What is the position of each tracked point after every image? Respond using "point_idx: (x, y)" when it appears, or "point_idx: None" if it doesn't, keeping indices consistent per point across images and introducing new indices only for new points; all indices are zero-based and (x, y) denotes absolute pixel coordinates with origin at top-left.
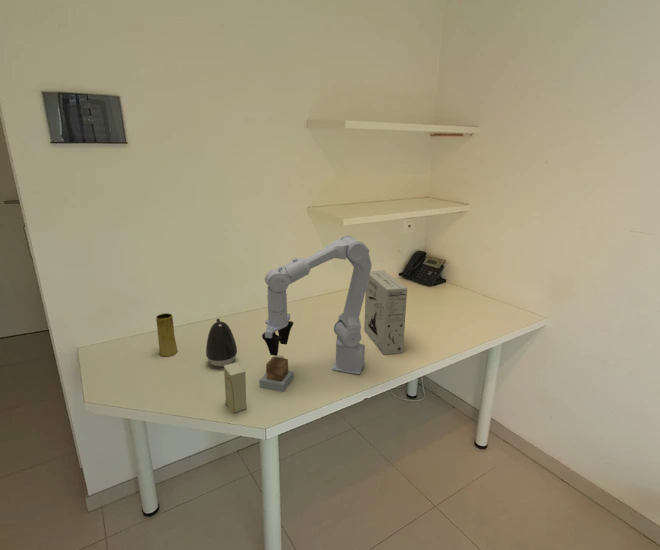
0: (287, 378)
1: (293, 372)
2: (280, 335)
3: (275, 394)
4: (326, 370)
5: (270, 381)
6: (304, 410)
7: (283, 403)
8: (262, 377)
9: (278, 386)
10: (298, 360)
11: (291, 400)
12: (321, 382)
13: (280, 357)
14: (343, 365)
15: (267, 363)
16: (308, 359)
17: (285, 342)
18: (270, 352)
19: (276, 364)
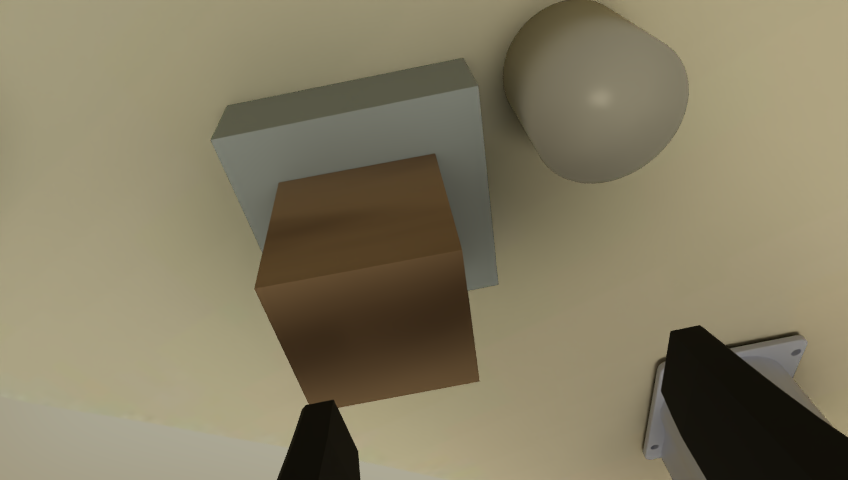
0: None
1: (493, 280)
2: (771, 459)
3: (240, 259)
4: (649, 340)
5: (264, 234)
6: (236, 431)
7: (202, 342)
8: (266, 138)
9: None
10: (760, 131)
11: (259, 356)
12: (511, 376)
13: (646, 123)
14: (675, 437)
15: (277, 292)
16: (785, 188)
17: (679, 410)
18: (296, 448)
19: (324, 364)
